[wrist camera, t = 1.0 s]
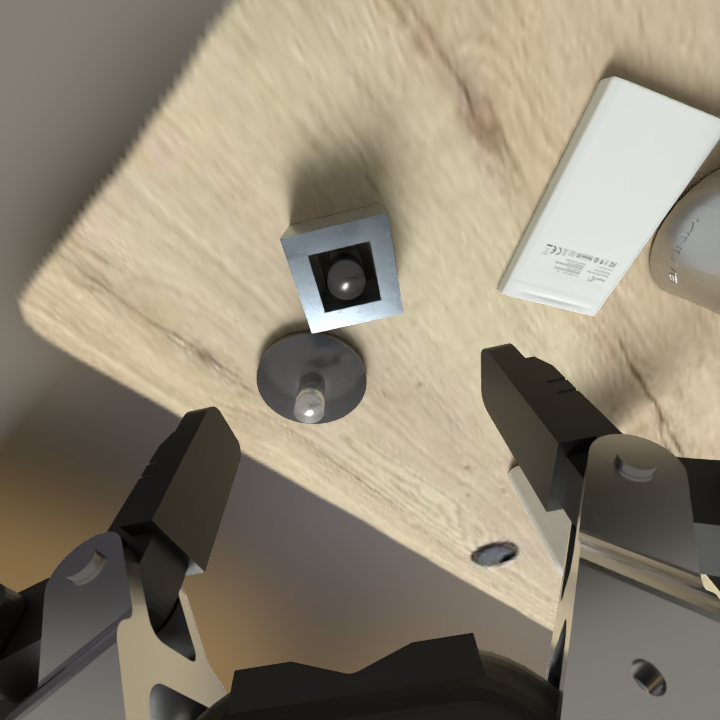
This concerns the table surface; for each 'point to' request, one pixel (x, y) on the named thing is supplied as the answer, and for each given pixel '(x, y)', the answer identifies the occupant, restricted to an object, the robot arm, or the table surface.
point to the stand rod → (345, 273)
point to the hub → (311, 377)
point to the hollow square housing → (333, 234)
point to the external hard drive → (608, 195)
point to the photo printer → (543, 518)
